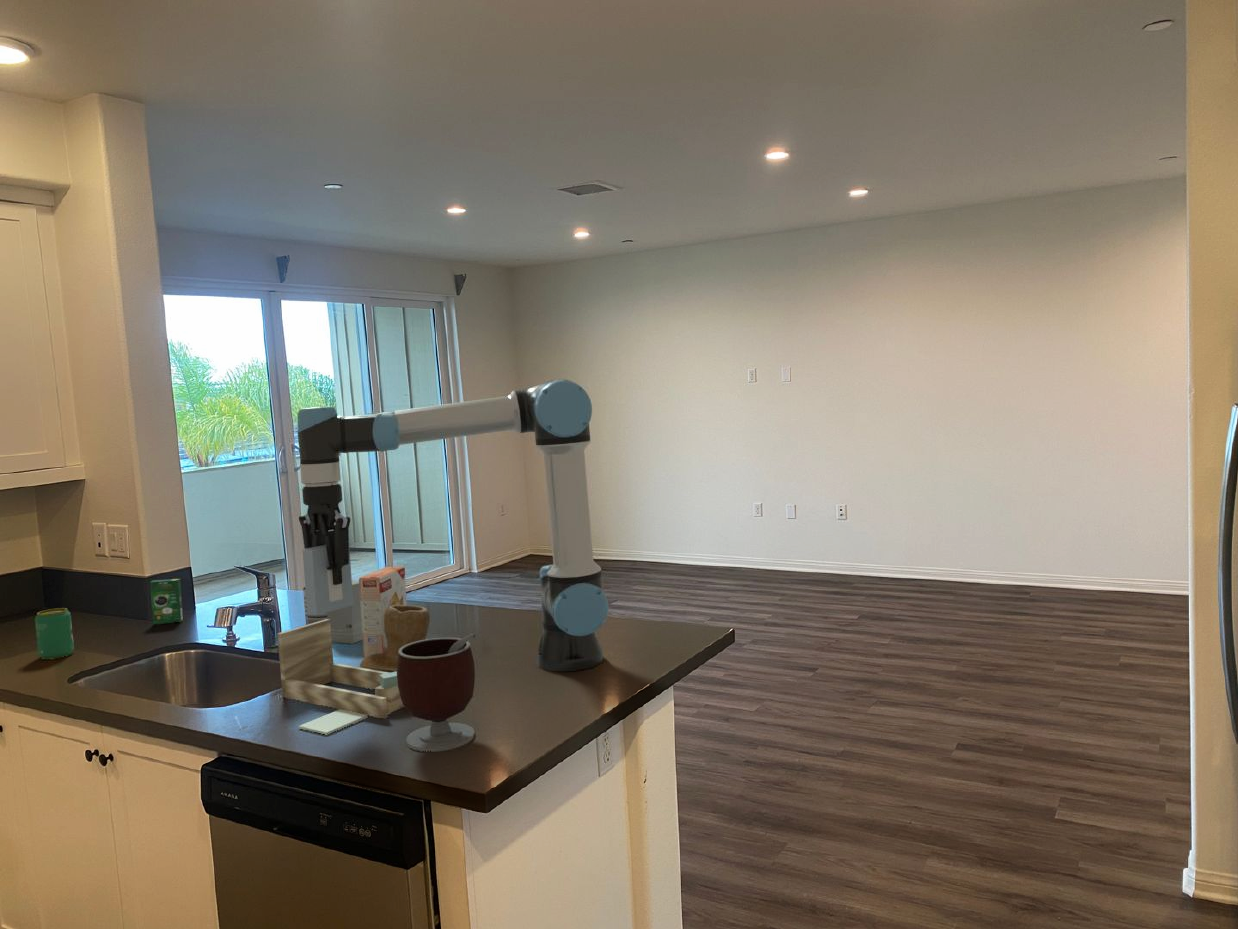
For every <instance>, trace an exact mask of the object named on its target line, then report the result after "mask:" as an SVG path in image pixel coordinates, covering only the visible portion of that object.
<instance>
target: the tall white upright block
mask: <svg viewBox="0 0 1238 929" xmlns="http://www.w3.org/2000/svg"><path fill="white" fill-rule="evenodd" d="M350 553H351V552H350V548H349V564H348V565H345V566H343V567H342V597H343V599H341V600H337V601H333V602H329V591H328V578H327V567H330V566H329V560H328V554H327V548H326V545H322V546H316V547H311V548H306V549H304V548H303V549H302V562H303V563H302V564H303V574H304V576H303V577H304V583H305V586H304V587H305V591H306V604H307V614H313V615H319V614H323V613H327V612H330V611H334V610H338V609H341V608H345V607H349V606H352V605H353V591H352V580H353V579H352V568H351V567H352V566H351V563H352V562H351V554H350Z"/></svg>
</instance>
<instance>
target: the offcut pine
mask: <svg viewBox="0 0 1238 929" xmlns="http://www.w3.org/2000/svg"><path fill="white" fill-rule="evenodd" d="M374 695H376V696H381V697H386V701H387V702H393V701H395V700H397V699H399V698H401V697H400V693H399V689H398V685H397V686H392V687H387V688H384V687H383V686H382V685H381V686H379V687H377V688H375V690H374Z"/></svg>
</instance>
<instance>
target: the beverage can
mask: <svg viewBox="0 0 1238 929" xmlns="http://www.w3.org/2000/svg"><path fill="white" fill-rule="evenodd" d="M34 623H35V625H34V626H35V632H36V634H35V635H36V640H37V641H36V642H37V650H38V656H39V657H40V659H41V658H44V659H50V658H58V657H62V656H66V657H69V656H71V655H73V652H74V650H75V646H74V645H75V644H74V635H73V634H74V633H73V626H72V615H71V612H70V611H69V610H68V608H67V607H60V608H59V607H57V608H50V609H46V610H41V611H39V612H37V613H36V616H35V618H34ZM70 654H71V655H70ZM68 655H69V656H68ZM58 659H59V658H58Z"/></svg>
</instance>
